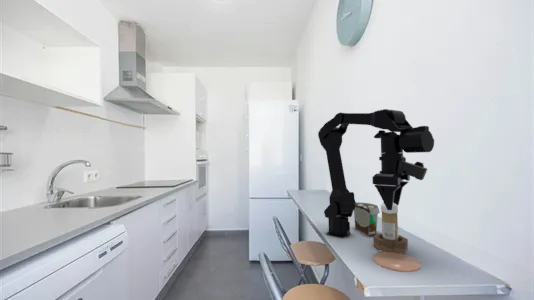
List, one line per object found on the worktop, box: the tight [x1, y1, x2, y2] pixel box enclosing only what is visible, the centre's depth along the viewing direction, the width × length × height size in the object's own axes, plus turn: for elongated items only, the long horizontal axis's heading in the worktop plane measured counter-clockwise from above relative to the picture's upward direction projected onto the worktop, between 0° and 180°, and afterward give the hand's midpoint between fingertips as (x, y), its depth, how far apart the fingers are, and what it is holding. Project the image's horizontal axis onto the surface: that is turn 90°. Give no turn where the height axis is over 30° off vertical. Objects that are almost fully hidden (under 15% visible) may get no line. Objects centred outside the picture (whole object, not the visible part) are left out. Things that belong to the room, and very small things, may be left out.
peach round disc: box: [373, 251, 421, 273], centre depth 67 cm, size 11×11×1 cm
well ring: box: [372, 232, 409, 254], centre depth 78 cm, size 9×9×3 cm
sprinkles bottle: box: [380, 202, 399, 242], centre depth 77 cm, size 5×5×13 cm
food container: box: [353, 201, 381, 238], centre depth 94 cm, size 12×6×10 cm, turn 9°
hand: (393, 207), depth 73 cm, fingers open, 8 cm apart
